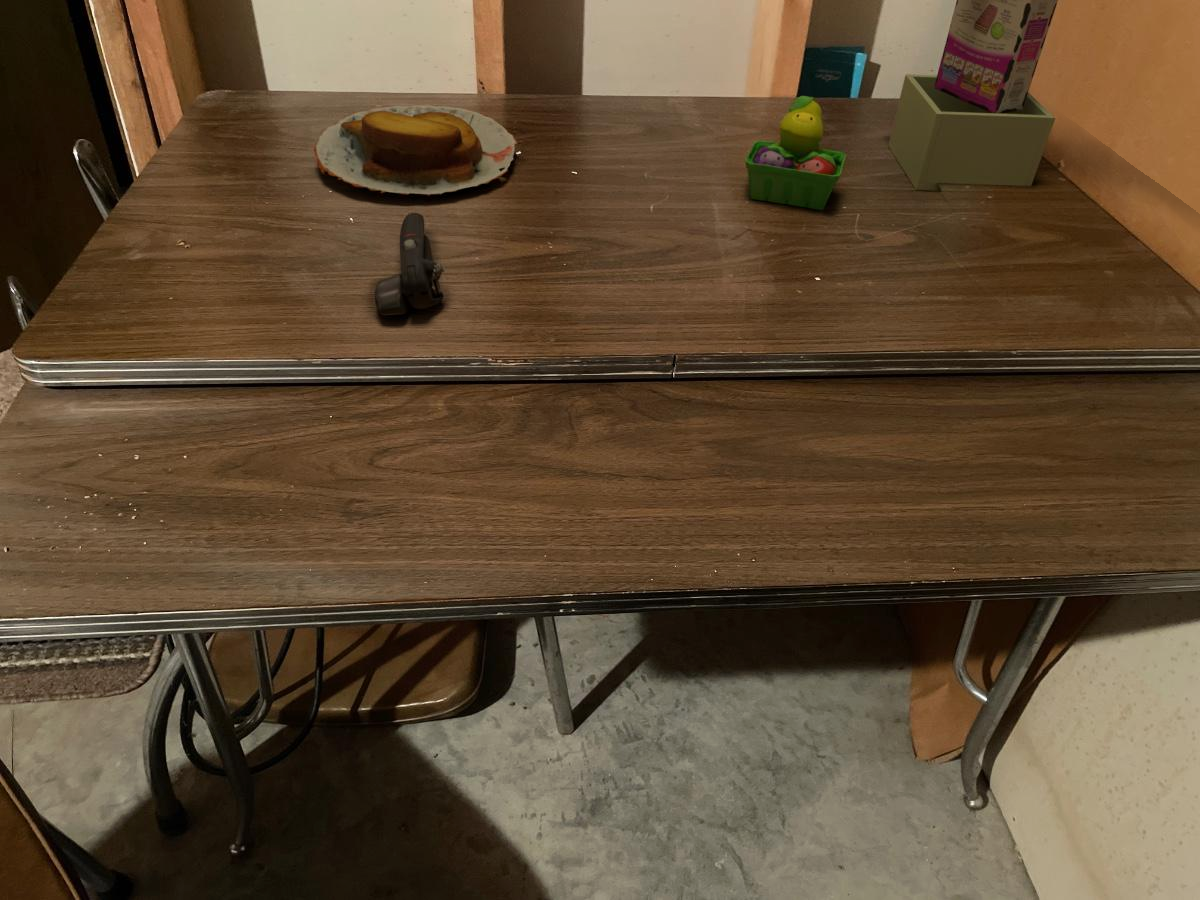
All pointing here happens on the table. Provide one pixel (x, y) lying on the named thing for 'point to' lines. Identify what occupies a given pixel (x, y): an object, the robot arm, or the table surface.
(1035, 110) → the waste bin
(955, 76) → the candy bar box
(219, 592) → the table surface
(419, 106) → the food on plate
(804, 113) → the fruit basket
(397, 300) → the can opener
